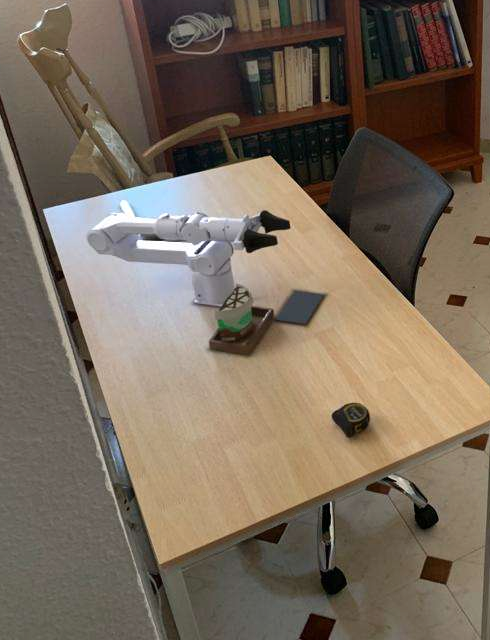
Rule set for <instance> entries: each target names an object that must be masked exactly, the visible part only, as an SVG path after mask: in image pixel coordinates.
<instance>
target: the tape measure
mask: <svg viewBox="0 0 490 640" xmlns="http://www.w3.org/2000/svg"><path fill="white" fill-rule="evenodd" d="M331 419H332V422H334V423H335V424H336V425H337V426H338V427H339V429H341V431H342V432H343V433H344V435H345V437H346V438H348V439H351V438H352V437H354V436H355V434H356V435H357V434H361V433H363V432H364V431H366V429H367V428H368V426H370V421H371V414H370V410H369V409H368V408H367V407H366V406H365V404H362V403H360V402H348V403H346V404H344V405H342V406H341V407H340V408H338V409H336V410H334V411H333V412H332V413H331Z"/></svg>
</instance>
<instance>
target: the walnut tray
mask: <svg viewBox="0 0 490 640" xmlns="http://www.w3.org/2000/svg"><path fill="white" fill-rule="evenodd" d="M251 314H252V316H253V317H261V318H263V319H262V320H261V322H260V323H259V324H258V326H257V327H256V329H255V330H254V331H253V333H251V335H250V337H249V338H248V340H247V341H246V343H245V344H242V343H238V342H235V343H230V342H224V341H222V338H221V334H220V330H219V327H218V329H217V330H216V331H215V332H214V334H213V335H212V336H211V337H210V339H208V344H209V349H210V351H218V352H223V353H229V354H236V355H243V356H249V354H250V353H251V351H252V350H253V349H254V347H255V346H256V345H257V344H258V341H259V340H260V338H261V337H262V336H263V334H264V333H265V331H267V329H268V327H269V326H270V324H271V323H272V321H273V320H274V319H275V318H276V317H275V309H274V308H272V307H265V306H259V305H258V306H257V305H252V307H251Z"/></svg>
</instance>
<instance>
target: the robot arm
mask: <svg viewBox="0 0 490 640" xmlns="http://www.w3.org/2000/svg"><path fill="white" fill-rule="evenodd" d="M260 227H262V228H263V229H264V233H262V232H259V230H260ZM291 228H292V227H291V223H290V220H289V219H286V218H282V217H280V216H277V215H275V214H273V213H271V212H269V210H266V209H264V210H262V211H260V212H259V213H258V214H256V215H253V216H250V215H249V214H245V215H244V216H242V218H235V217H232V218H231V217H210V216H209V215H207V214H205V213H203V212H199V211H195V212H193V213H192V214H190V215H185V214H183V215H170V214H169V213H163V214H162V215H160V216H158V217H157V219H155V218H154V219H153V218H145V217H137V216H135V217H128V216H126V215H125V214H124V212H121V213H117V212H112V213H109V214H108V215H106V217H105V218H104V219H103V220H101V221H100V222H99V223H98V224H97V225H96V226H94V227H93V228H91V229H89V230H88V231H87V233H86V235H85V238H86V241H87V243H88V245H89V246H90V247H91V248H92V249H93V250H94V251H95V252H96V253H97V254H98V255H107V256H113V257H116V258H118V259H121V260H124V261H126V262H129V263H150V264H164V265H166V264H167V265H168V264H169V265H181V266H182V265H183V266H184V265H185V266H188V267H189V268H190V271H191V272H192V275H191V281H192V286H193V292H194V297H195V300H194V303H195V304H198V305H199V304H200V305H206V306H212V307H220V308H221V307H222V305H223V303H224V302H225V300H226V299H227V297H228V296H230V295H231V294H232V292H233V291H234V290H235V288H236V285H235V280H234V274H233V268H232V263H231V262H232V258H231V257H232V256H233V255H234V253H235V251H244V249H245V253H247V254H252V253H254V252H256V251H258V250H261V249H265V248H270V247H275V246H278V244H279V241H278V238H277V237H278V236H277V235H274V234H270V233H272V232H276V231H287V230H291ZM140 234H156V235H157V236H158V237H159V238H161V239H177V240H179V242H175V241H161V242H159V241H142V240H139V236H138V235H140ZM180 240H181V241H185V242H180Z"/></svg>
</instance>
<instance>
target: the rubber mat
mask: <svg viewBox="0 0 490 640" xmlns="http://www.w3.org/2000/svg"><path fill="white" fill-rule="evenodd" d="M324 296H325V294H323V293H317V292H309V291H301V290H296V289H295V290H294V291H293V292H292V294H291V295H290V297H289V298H288V299H287V301H286V302H285V304H284V305H283V306H282V308H281V310H280V311H279V312H278V314H277V316H276V317H274V321H275V322H281V323H282V322H283V323H289V324H296V325H303V326H306V325H307V324H308V322H309V321H310V318H311V317H312V316H313V314H314V313H315V311H316V310H317V308H318V306H319V304H320V303H321V301H322V300H323V298H324Z"/></svg>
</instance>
